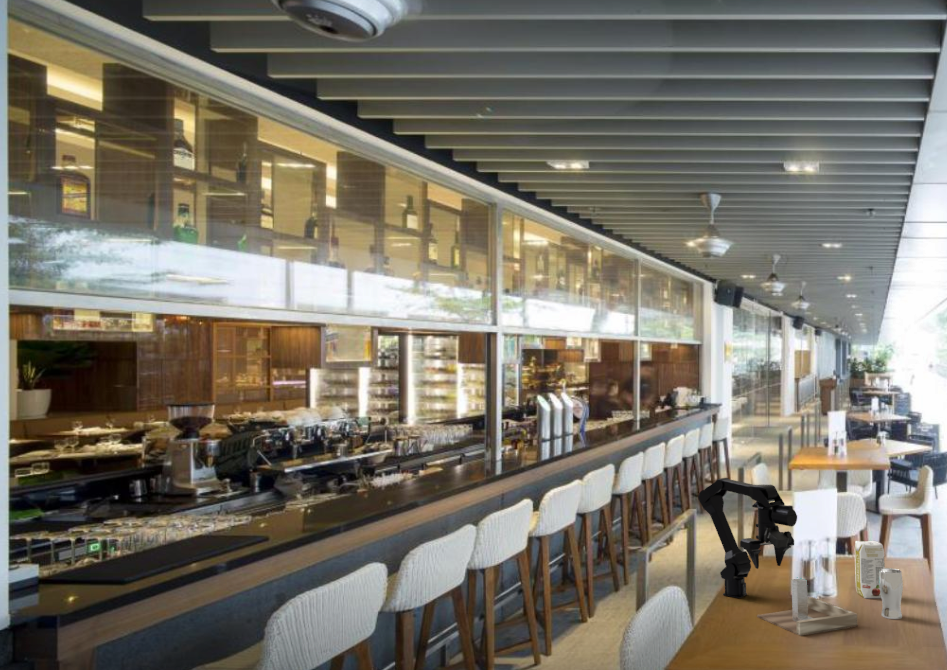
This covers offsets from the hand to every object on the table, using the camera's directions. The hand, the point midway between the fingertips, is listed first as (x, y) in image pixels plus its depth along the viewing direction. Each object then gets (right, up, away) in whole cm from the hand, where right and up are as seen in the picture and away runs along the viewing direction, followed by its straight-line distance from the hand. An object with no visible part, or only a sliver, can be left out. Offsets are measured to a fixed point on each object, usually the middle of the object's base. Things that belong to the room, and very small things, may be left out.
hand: (767, 567), depth 284 cm
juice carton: (+39, -13, +8) cm, 42 cm away
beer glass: (+35, -12, -15) cm, 40 cm away
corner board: (+6, -12, -18) cm, 23 cm away
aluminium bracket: (+4, -12, -21) cm, 24 cm away
